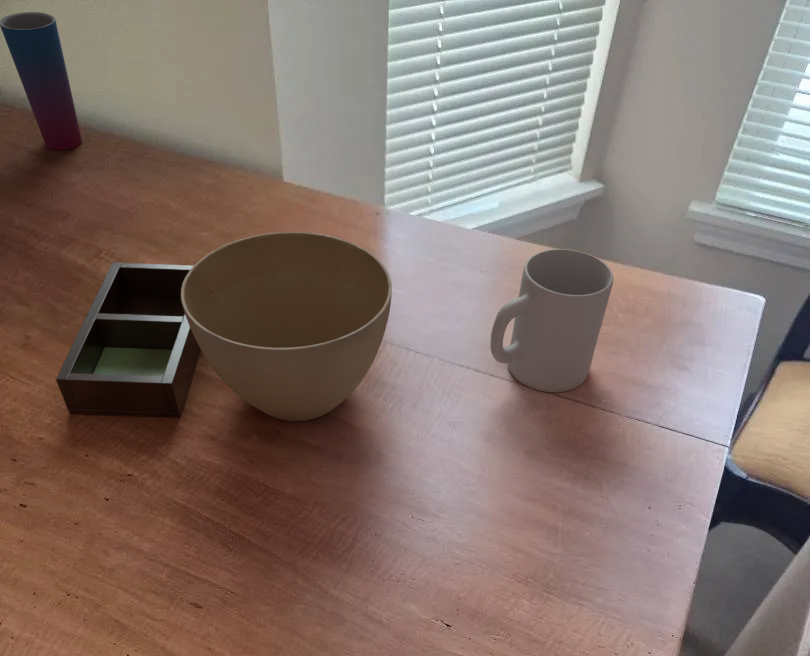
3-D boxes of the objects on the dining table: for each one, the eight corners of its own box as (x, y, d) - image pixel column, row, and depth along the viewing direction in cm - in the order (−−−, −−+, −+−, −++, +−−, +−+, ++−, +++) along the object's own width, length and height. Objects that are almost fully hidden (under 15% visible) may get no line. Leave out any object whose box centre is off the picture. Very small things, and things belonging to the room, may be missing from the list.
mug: (555, 334, 82) (577, 240, 74) (605, 378, 78) (633, 283, 69) (463, 365, 78) (474, 268, 70) (509, 413, 74) (527, 316, 65)
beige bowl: (219, 337, 80) (199, 228, 70) (389, 342, 80) (392, 234, 71) (190, 456, 68) (161, 344, 59) (388, 460, 69) (391, 350, 59)
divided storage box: (69, 413, 71) (55, 379, 68) (122, 295, 84) (112, 262, 81) (180, 417, 71) (171, 383, 68) (216, 299, 84) (210, 265, 81)
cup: (87, 130, 111) (54, 10, 99) (89, 150, 107) (55, 27, 95) (38, 134, 109) (-1, 13, 98) (39, 155, 105) (-2, 31, 93)
